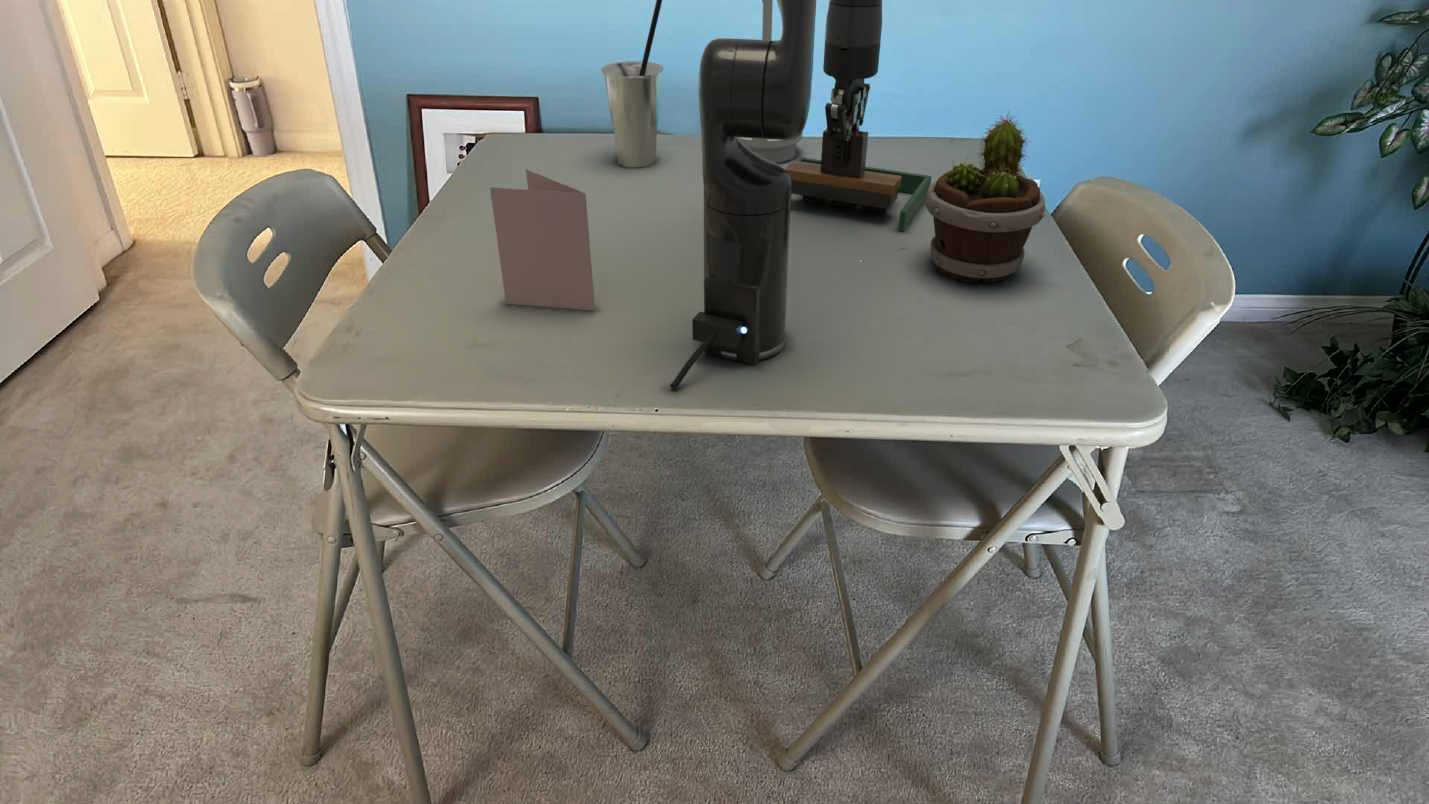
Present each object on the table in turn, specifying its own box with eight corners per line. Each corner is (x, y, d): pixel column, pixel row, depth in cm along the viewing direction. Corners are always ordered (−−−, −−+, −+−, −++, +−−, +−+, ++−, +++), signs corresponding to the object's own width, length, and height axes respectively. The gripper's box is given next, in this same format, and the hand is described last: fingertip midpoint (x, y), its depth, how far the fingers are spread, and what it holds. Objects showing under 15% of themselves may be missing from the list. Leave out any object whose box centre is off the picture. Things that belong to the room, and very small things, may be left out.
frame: (903, 231, 135) (905, 211, 133) (763, 208, 142) (764, 189, 140) (929, 194, 147) (931, 175, 145) (798, 174, 154) (799, 156, 152)
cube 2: (856, 208, 142) (858, 182, 140) (830, 204, 143) (832, 179, 141) (863, 199, 145) (865, 174, 143) (838, 195, 146) (840, 170, 144)
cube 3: (827, 203, 144) (828, 178, 141) (802, 199, 145) (803, 174, 143) (835, 194, 147) (836, 169, 144) (810, 190, 148) (812, 166, 146)
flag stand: (811, 162, 159) (821, -31, 142) (736, 168, 156) (738, -27, 140) (789, 138, 169) (797, -44, 153) (719, 143, 167) (719, -41, 151)
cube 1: (886, 212, 140) (888, 187, 138) (860, 208, 142) (862, 183, 140) (893, 203, 143) (895, 178, 141) (867, 199, 145) (870, 174, 143)
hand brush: (891, 209, 135) (898, 144, 129) (782, 192, 140) (785, 129, 135) (899, 198, 138) (906, 134, 133) (793, 182, 144) (796, 120, 139)
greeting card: (600, 308, 115) (591, 191, 107) (551, 329, 111) (538, 209, 103) (544, 279, 122) (531, 167, 114) (496, 297, 118) (479, 182, 109)
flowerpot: (999, 305, 116) (1029, 145, 105) (894, 268, 124) (912, 117, 113) (1052, 267, 125) (1085, 117, 114) (951, 236, 133) (973, 93, 122)
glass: (675, 150, 164) (670, -37, 148) (666, 172, 155) (660, -25, 138) (614, 148, 165) (603, -38, 148) (602, 170, 156) (587, -26, 139)
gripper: (842, 25, 134) (833, 145, 143) (809, 45, 123) (802, 173, 133) (893, 30, 131) (881, 151, 141) (864, 51, 120) (853, 181, 130)
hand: (843, 161), depth 137 cm, fingers closed on hand brush, 2 cm apart
